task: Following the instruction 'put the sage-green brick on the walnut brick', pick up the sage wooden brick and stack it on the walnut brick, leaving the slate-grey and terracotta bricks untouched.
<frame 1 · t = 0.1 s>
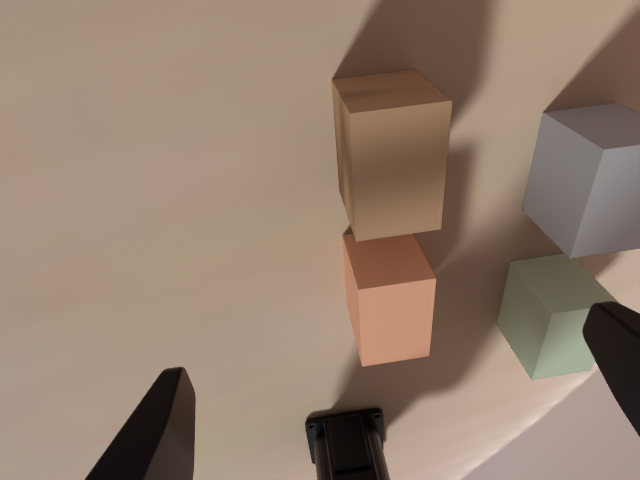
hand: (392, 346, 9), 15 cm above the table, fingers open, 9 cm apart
walnut brick: (373, 133, 22), on the table
terracotta brick: (375, 268, 27), on the table
sage brick: (530, 289, 30), on the table
grey brick: (564, 159, 24), on the table
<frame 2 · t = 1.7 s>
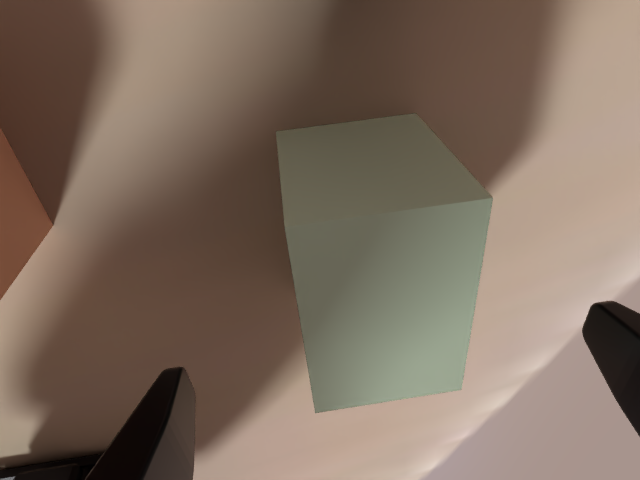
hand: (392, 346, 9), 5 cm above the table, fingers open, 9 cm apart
sage brick: (351, 211, 14), on the table
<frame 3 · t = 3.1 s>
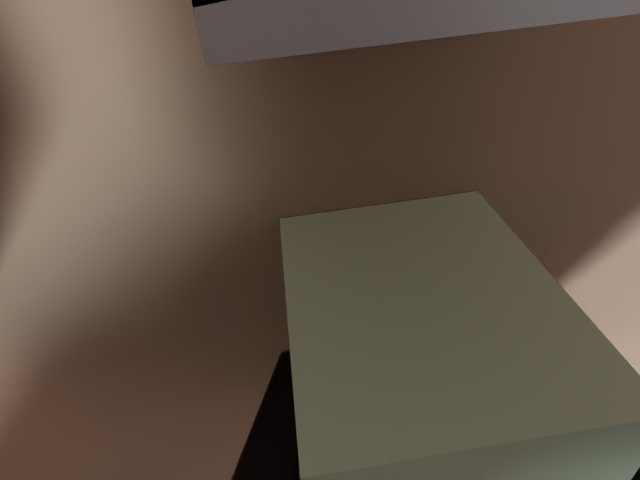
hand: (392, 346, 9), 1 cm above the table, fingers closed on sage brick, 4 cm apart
sage brick: (380, 312, 10), on the table, touching gripper
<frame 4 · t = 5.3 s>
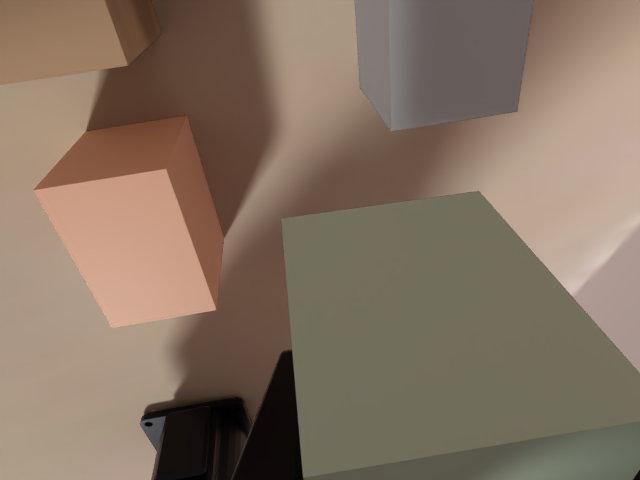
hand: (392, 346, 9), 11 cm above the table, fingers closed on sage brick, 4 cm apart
terracotta brick: (161, 189, 19), on the table
sage brick: (381, 312, 10), point 10 cm above the table, touching gripper
when the fingers open (7 cm above the table, at t = 7.3 s): sage brick drops 1 cm, resting on walnut brick.
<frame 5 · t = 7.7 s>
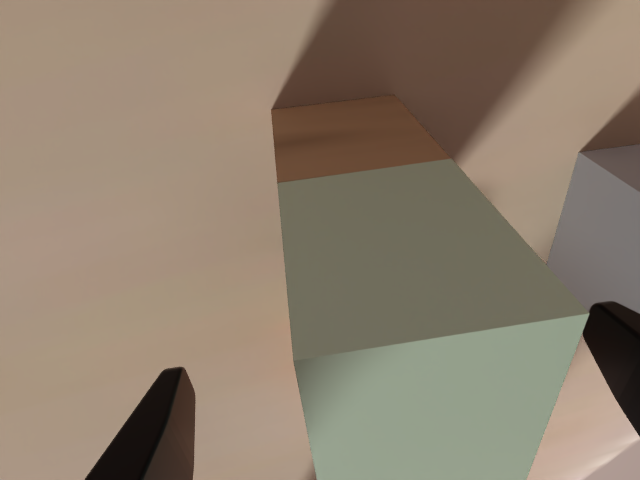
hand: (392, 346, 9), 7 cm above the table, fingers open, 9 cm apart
walnut brick: (338, 184, 16), on the table, touching sage brick
sage brick: (368, 272, 11), point 5 cm above the table, touching walnut brick
grey brick: (604, 212, 18), on the table
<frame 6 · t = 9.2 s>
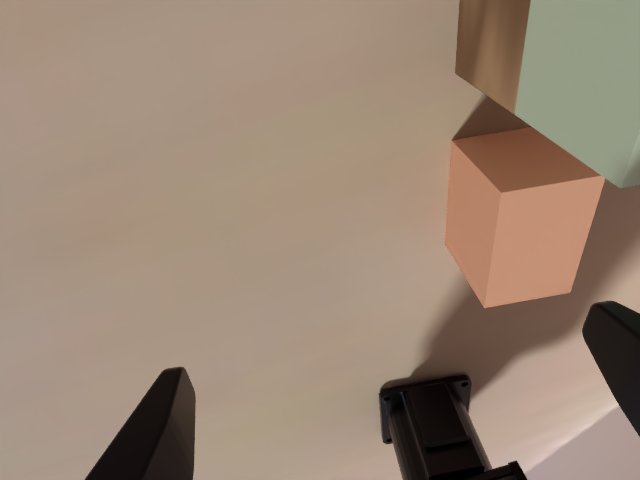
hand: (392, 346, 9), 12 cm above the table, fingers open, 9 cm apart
terracotta brick: (486, 189, 22), on the table
sage brick: (597, 0, 12), point 5 cm above the table, touching walnut brick
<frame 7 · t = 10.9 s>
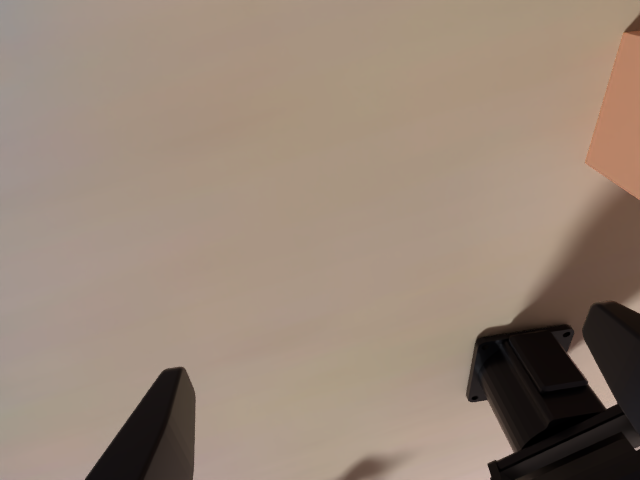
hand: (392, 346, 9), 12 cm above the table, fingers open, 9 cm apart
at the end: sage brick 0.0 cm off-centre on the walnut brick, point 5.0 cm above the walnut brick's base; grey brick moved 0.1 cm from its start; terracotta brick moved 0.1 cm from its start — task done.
